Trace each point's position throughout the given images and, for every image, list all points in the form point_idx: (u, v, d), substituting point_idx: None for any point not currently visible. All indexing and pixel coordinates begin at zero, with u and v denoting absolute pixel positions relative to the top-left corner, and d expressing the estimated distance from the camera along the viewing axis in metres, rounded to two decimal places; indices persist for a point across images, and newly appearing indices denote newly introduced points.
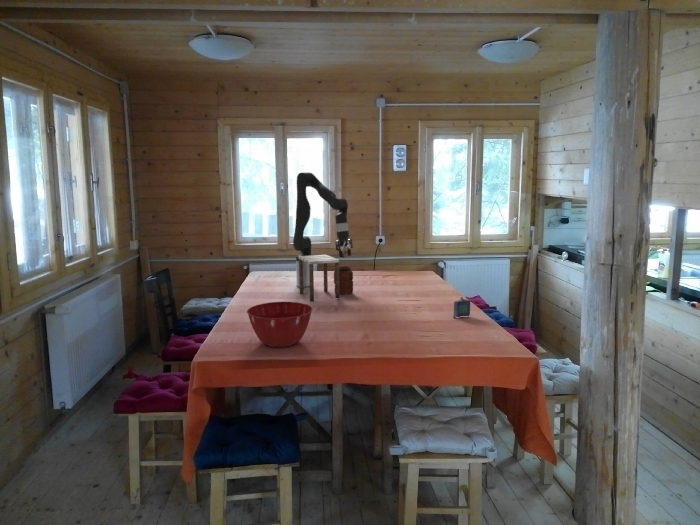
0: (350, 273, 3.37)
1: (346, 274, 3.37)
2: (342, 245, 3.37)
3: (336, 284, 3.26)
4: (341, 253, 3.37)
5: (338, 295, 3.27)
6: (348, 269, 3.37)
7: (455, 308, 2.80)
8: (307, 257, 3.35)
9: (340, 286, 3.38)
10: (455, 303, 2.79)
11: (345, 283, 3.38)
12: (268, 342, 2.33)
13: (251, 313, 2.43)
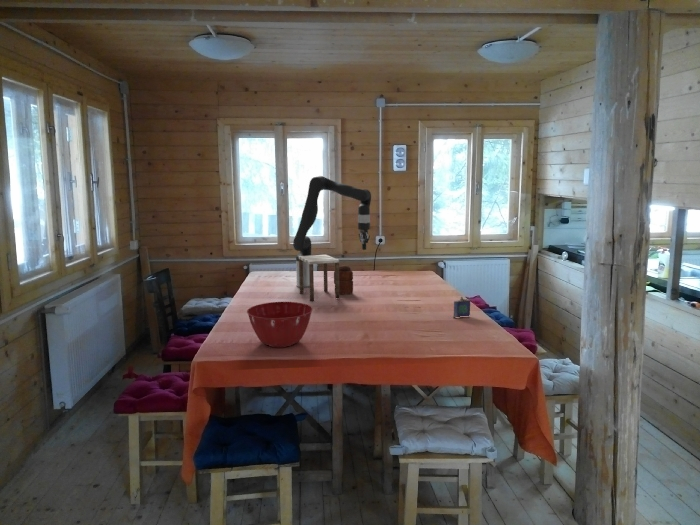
0: (350, 273, 3.37)
1: (346, 274, 3.37)
2: None
3: (336, 284, 3.26)
4: (365, 245, 3.42)
5: (338, 295, 3.27)
6: (348, 269, 3.37)
7: (455, 308, 2.80)
8: (307, 257, 3.35)
9: (340, 286, 3.38)
10: (455, 303, 2.79)
11: (345, 283, 3.38)
12: (268, 342, 2.33)
13: (251, 313, 2.43)
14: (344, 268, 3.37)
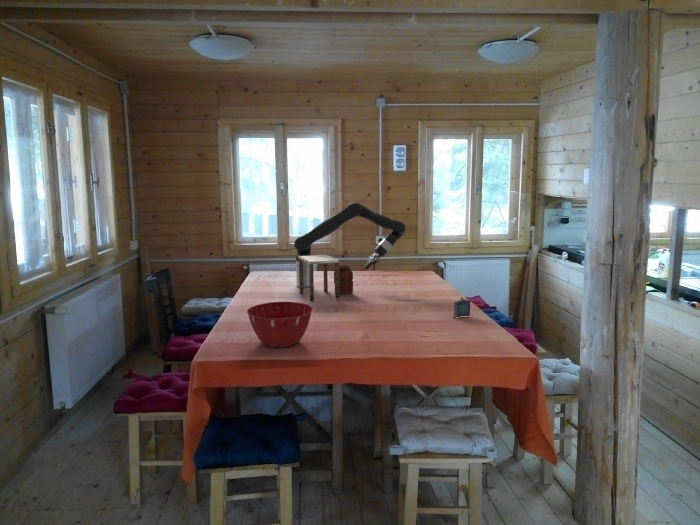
0: (350, 273, 3.37)
1: (346, 274, 3.37)
2: None
3: (336, 284, 3.26)
4: (369, 266, 3.45)
5: (338, 295, 3.27)
6: (348, 269, 3.37)
7: (455, 308, 2.80)
8: (307, 257, 3.35)
9: (340, 286, 3.38)
10: (455, 303, 2.79)
11: (345, 283, 3.38)
12: (268, 342, 2.33)
13: (251, 313, 2.43)
14: (344, 268, 3.37)
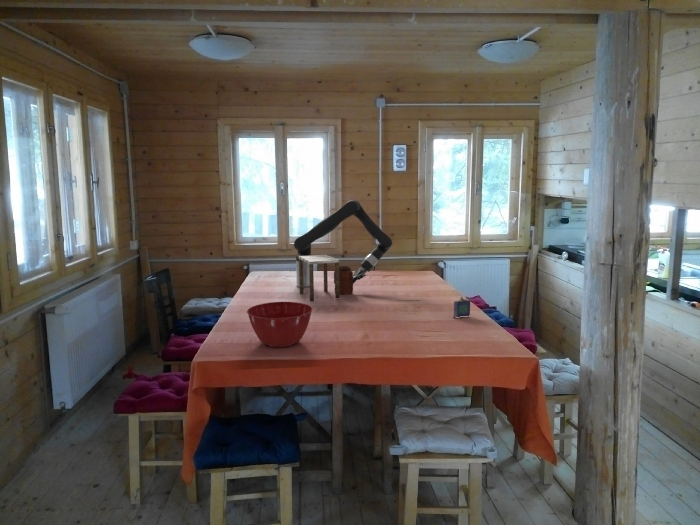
0: (350, 273, 3.37)
1: (346, 274, 3.37)
2: None
3: (336, 284, 3.26)
4: (355, 281, 3.43)
5: (338, 295, 3.27)
6: (348, 269, 3.37)
7: (455, 308, 2.80)
8: (307, 257, 3.35)
9: (340, 286, 3.38)
10: (455, 303, 2.79)
11: (345, 283, 3.38)
12: (268, 342, 2.33)
13: (251, 313, 2.43)
14: (344, 268, 3.37)
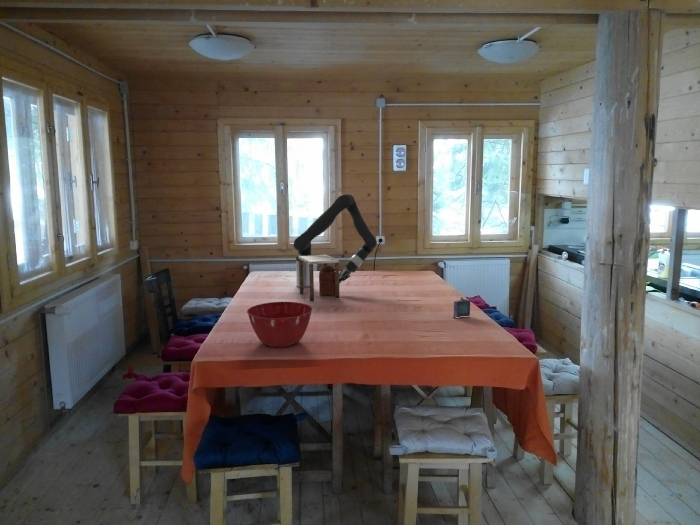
0: (333, 274, 3.33)
1: (329, 275, 3.34)
2: None
3: (336, 284, 3.26)
4: (339, 282, 3.39)
5: (338, 295, 3.27)
6: (331, 270, 3.33)
7: (455, 308, 2.80)
8: (307, 257, 3.35)
9: (323, 287, 3.36)
10: (455, 303, 2.79)
11: (328, 284, 3.35)
12: (268, 342, 2.33)
13: (251, 313, 2.43)
14: (327, 269, 3.34)
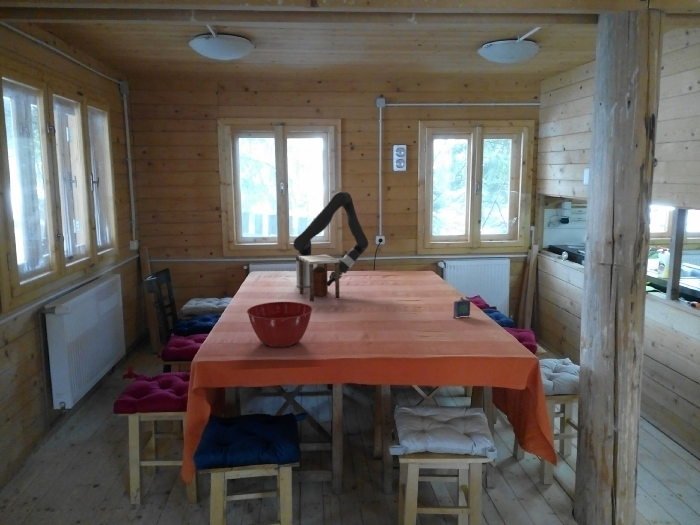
0: (322, 275, 3.31)
1: (318, 276, 3.32)
2: None
3: (336, 284, 3.26)
4: (331, 283, 3.37)
5: (338, 295, 3.27)
6: (321, 271, 3.32)
7: (455, 308, 2.80)
8: (307, 257, 3.35)
9: (314, 287, 3.35)
10: (455, 303, 2.79)
11: (318, 285, 3.34)
12: (268, 342, 2.33)
13: (251, 313, 2.43)
14: (317, 269, 3.32)
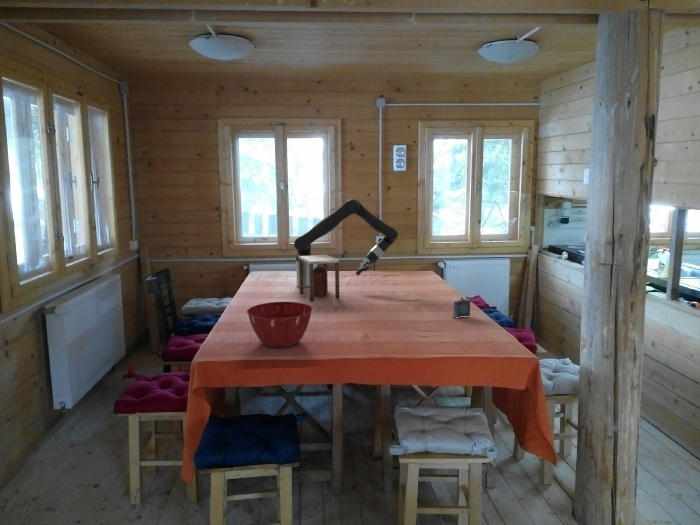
0: (322, 275, 3.31)
1: (318, 276, 3.32)
2: None
3: (336, 284, 3.26)
4: (360, 272, 3.44)
5: (338, 295, 3.27)
6: (321, 271, 3.32)
7: (455, 308, 2.80)
8: (307, 257, 3.35)
9: (314, 287, 3.35)
10: (455, 303, 2.79)
11: (318, 285, 3.34)
12: (268, 342, 2.33)
13: (251, 313, 2.43)
14: (317, 269, 3.32)
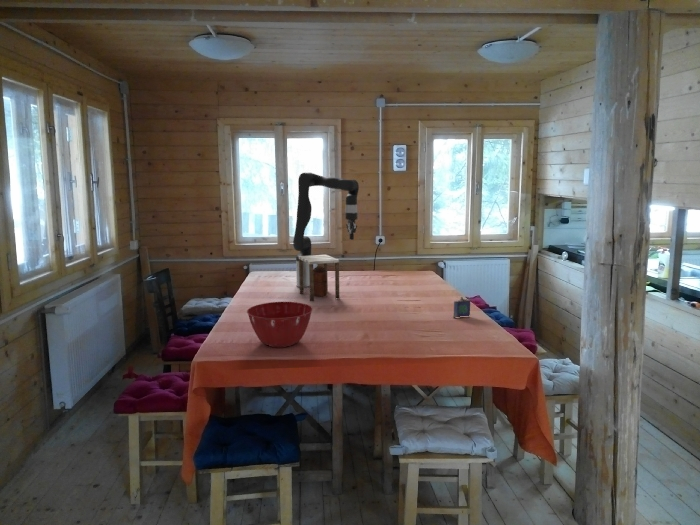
0: (322, 275, 3.31)
1: (318, 276, 3.32)
2: None
3: (336, 284, 3.26)
4: (353, 235, 3.44)
5: (338, 295, 3.27)
6: (321, 271, 3.32)
7: (455, 308, 2.80)
8: (307, 257, 3.35)
9: (314, 287, 3.35)
10: (455, 303, 2.79)
11: (318, 285, 3.34)
12: (268, 342, 2.33)
13: (251, 313, 2.43)
14: (317, 269, 3.32)
